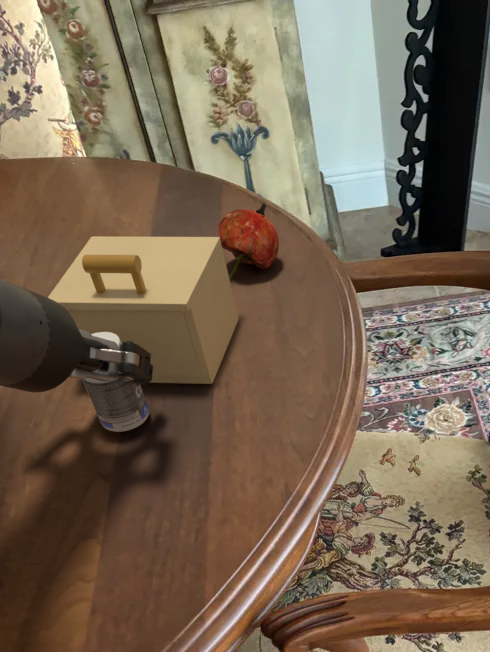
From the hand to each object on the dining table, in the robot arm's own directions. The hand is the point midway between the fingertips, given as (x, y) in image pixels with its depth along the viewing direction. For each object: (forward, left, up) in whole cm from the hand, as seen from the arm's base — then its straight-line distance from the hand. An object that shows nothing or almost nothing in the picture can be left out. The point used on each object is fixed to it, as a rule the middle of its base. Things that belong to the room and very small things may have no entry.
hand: (120, 371), depth 74 cm
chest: (0, +10, -5) cm, 11 cm away
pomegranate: (+6, +27, -5) cm, 28 cm away
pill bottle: (0, -2, -4) cm, 5 cm away
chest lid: (0, +10, +4) cm, 11 cm away
